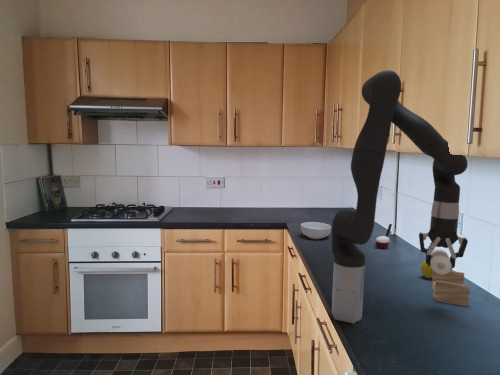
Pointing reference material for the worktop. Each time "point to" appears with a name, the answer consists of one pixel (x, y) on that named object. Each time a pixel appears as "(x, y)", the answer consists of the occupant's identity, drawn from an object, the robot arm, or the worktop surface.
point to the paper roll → (440, 262)
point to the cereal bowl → (315, 230)
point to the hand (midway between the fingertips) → (439, 266)
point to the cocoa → (383, 240)
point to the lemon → (426, 270)
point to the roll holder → (450, 288)
